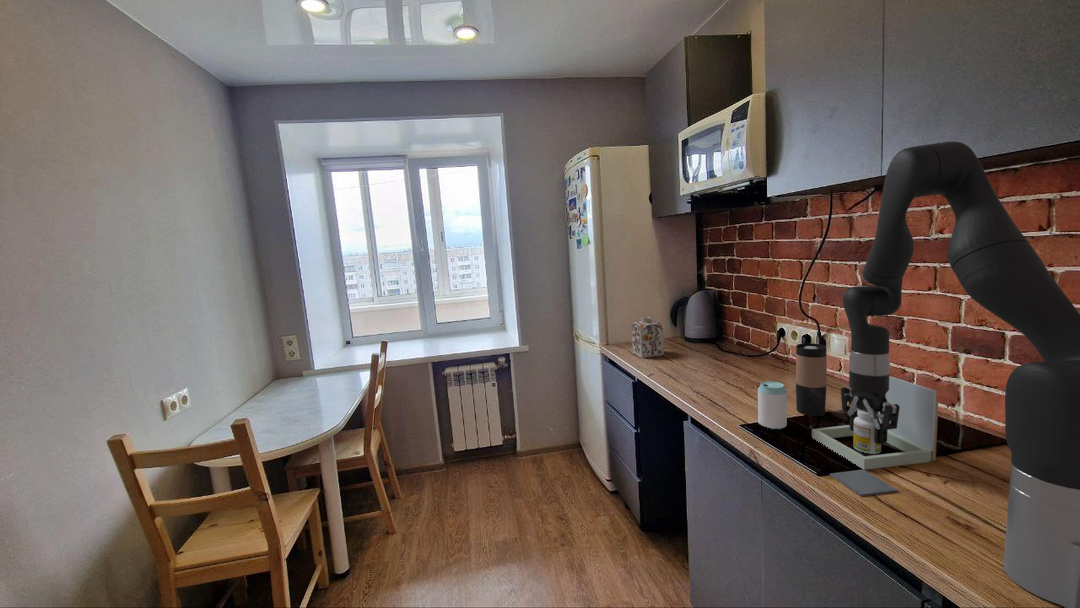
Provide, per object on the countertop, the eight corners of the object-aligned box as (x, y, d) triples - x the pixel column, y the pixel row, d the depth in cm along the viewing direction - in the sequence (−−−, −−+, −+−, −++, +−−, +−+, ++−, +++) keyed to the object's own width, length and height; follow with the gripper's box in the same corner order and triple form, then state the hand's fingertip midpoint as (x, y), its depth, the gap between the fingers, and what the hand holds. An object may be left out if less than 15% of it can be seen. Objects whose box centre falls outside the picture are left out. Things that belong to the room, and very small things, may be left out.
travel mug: (828, 409, 125) (828, 344, 123) (823, 418, 120) (824, 350, 117) (798, 405, 131) (798, 342, 128) (793, 413, 125) (793, 347, 122)
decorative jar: (631, 353, 208) (630, 317, 205) (653, 350, 210) (652, 314, 207) (641, 358, 196) (640, 320, 194) (665, 355, 198) (663, 318, 196)
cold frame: (936, 461, 94) (939, 390, 92) (864, 469, 93) (865, 398, 91) (874, 431, 110) (876, 370, 108) (811, 438, 109) (812, 376, 107)
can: (775, 432, 113) (775, 390, 112) (752, 424, 120) (752, 383, 118) (792, 426, 116) (792, 384, 115) (769, 418, 123) (768, 378, 121)
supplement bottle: (874, 444, 104) (875, 407, 102) (885, 455, 98) (887, 415, 97) (849, 443, 105) (849, 406, 104) (859, 454, 100) (860, 415, 99)
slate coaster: (897, 491, 85) (897, 489, 85) (860, 496, 84) (860, 494, 84) (863, 471, 93) (863, 469, 93) (829, 475, 92) (829, 473, 92)
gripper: (913, 377, 92) (910, 448, 94) (858, 360, 107) (856, 423, 109) (881, 380, 92) (879, 452, 94) (830, 363, 106) (829, 426, 108)
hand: (867, 436), depth 101 cm, fingers open, 6 cm apart
